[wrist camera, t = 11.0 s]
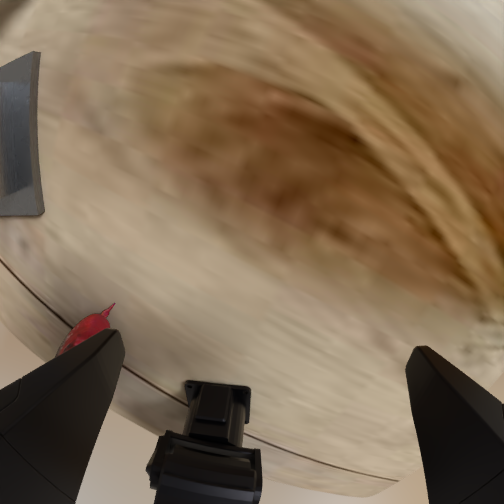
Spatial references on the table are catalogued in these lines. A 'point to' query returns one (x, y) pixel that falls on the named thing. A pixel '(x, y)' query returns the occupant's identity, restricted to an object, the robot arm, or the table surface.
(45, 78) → the table surface
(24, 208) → the square socket
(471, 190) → the table surface
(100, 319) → the decorative bird figurine
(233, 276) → the table surface
